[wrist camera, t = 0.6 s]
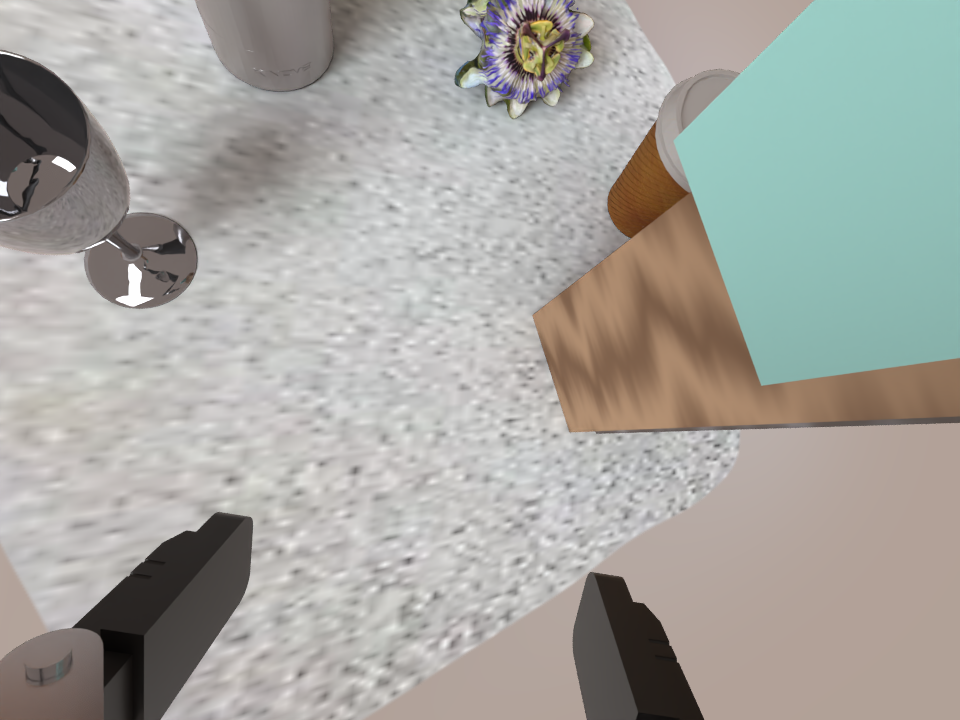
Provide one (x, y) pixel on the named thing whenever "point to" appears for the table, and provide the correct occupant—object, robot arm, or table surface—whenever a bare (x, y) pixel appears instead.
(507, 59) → the passion flower
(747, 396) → the tall wooden pillar block
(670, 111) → the disposable coffee cup
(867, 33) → the rail
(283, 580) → the table surface
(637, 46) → the table surface
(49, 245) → the wine glass
